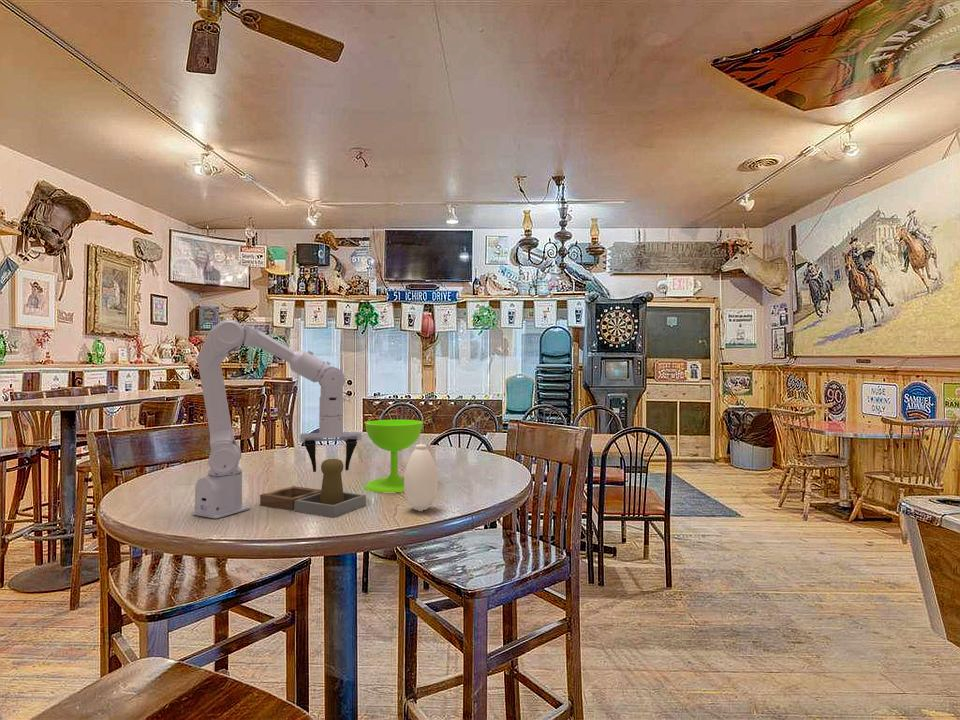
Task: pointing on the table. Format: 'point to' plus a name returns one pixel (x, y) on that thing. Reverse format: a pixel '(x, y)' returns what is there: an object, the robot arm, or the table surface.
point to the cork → (332, 482)
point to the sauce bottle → (421, 478)
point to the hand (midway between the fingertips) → (330, 470)
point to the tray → (314, 507)
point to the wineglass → (392, 448)
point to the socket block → (286, 497)
